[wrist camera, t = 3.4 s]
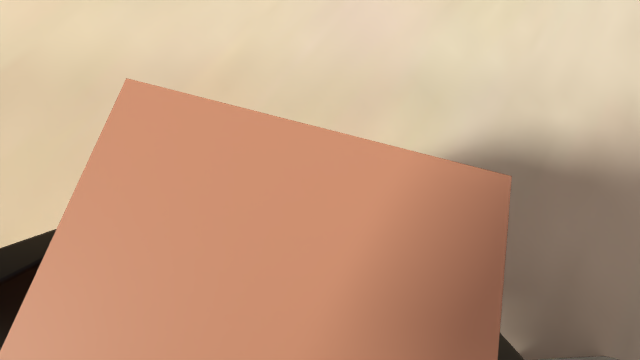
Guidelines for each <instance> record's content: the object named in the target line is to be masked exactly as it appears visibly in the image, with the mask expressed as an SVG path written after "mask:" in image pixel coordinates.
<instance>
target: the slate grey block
mask: <svg viewBox="0 0 640 360" xmlns="http://www.w3.org/2000/svg"><path fill="white" fill-rule="evenodd" d="M540 360H618V359H614V358H610V357H606V356H597V357H578V358H559V359H540Z"/></svg>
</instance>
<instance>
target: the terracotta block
mask: <svg viewBox="0 0 640 360" xmlns="http://www.w3.org/2000/svg"><path fill="white" fill-rule="evenodd" d="M511 177H512V176H509V175H505V174H501V173H497V172H493V171H489V170H485V169H481V168H477V167H473V166H469V165H465V164H461V163H457V162H454V161H450V160H446V159H442V158H438V157H434V156H430V155H426V154H422V153H418V152H414V151H410V150H406V149H402V148H399V147H395V146H391V145H387V144H383V143H379V142H375V141H371V140H367V139H363V138H359V137H355V136H351V135H347V134H343V133H340V132H336V131H332V130H328V129H324V128H320V127H316V126H312V125H308V124H304V123H300V122H296V121H292V120H288V119H284V118H281V117H277V116H273V115H269V114H265V113H261V112H257V111H253V110H249V109H245V108H241V107H237V106H233V105H229V104H226V103H222V102H218V101H214V100H210V99H206V98H202V97H198V96H194V95H190V94H186V93H182V92H178V91H174V90H170V89H167V88H163V87H159V86H155V85H151V84H147V83H143V82H139V81H135V80H131V79H127V78H126V80H125V82H124V85H123V87H122V89H121V91H120V93H119V95H118V98H117V100H116V102H115V104H114V106H113V108H112V111H111V113H110V115H109V117H108V119H107V121H106V123H105V126H104V128H103V130H102V132H101V134H100V136H99V139H98V141H97V143H96V145H95V147H94V149H93V152H92V154H91V156H90V158H89V160H88V162H87V165H86V167H85V169H84V171H83V173H82V175H81V178H80V180H79V182H78V184H77V186H76V188H75V190H74V193H73V195H72V197H71V199H70V201H69V203H68V206H67V208H66V210H65V212H64V214H63V216H62V219H61V221H60V223H59V225H58V227H57V229H56V232H55V234H54V236H53V238H52V240H51V242H50V244H49V247H48V249H47V251H46V253H45V255H44V257H43V260H42V262H41V264H40V266H39V268H38V270H37V273H36V275H35V277H34V279H33V281H32V283H31V286H30V288H29V290H28V292H27V294H26V296H25V298H24V301H23V303H22V305H21V307H20V309H19V311H18V314H17V316H16V318H15V320H14V322H13V324H12V327H11V329H10V331H9V333H8V335H7V337H6V340H5V342H4V344H3V346H2V348H1V350H0V360H498V347H499V334H500V321H501V308H502V295H503V282H504V269H505V256H506V243H507V230H508V217H509V204H510V190H511Z"/></svg>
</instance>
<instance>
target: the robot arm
mask: <svg viewBox="0 0 640 360" xmlns="http://www.w3.org/2000/svg"><path fill="white" fill-rule="evenodd" d="M55 232H56V229H55V230H52V231H49V232H46V233H43V234H40V235H37V236H34V237H32V238H29V239H26V240H23V241H20V242H17V243H14V244H11V245H8V246H5V247H2V248H0V350H1V348H2V346H3V344H4V342H5V340H6V337H7V335H8V333H9V331H10V329H11V327H12V324H13V322H14V320H15V318H16V316H17V314H18V311H19V309H20V307H21V305H22V303H23V301H24V298H25V296H26V294H27V292H28V290H29V288H30V286H31V283H32V281H33V279H34V277H35V275H36V273H37V270H38V268H39V266H40V264H41V262H42V260H43V257H44V255H45V253H46V251H47V249H48V247H49V244H50V242H51V240H52V238H53V236H54V234H55ZM498 360H524V359H523V358H522V357H521V355H520V354H519V353H518V352H517V351H516V350H515V349H514V348H513V347H512V345H511V344H510V343H509V342H508V341H507V340H506V339H505V338H504V337H503V335H502V334H501V333H500V334H499V347H498Z"/></svg>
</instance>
